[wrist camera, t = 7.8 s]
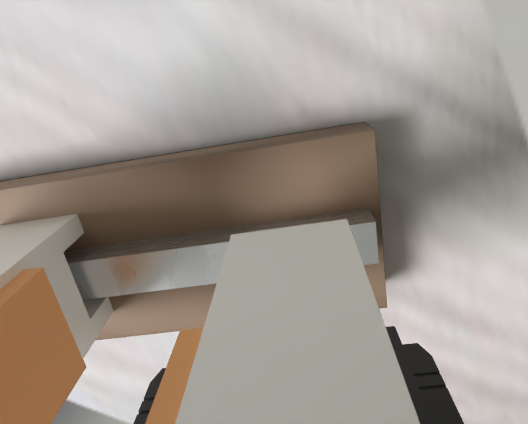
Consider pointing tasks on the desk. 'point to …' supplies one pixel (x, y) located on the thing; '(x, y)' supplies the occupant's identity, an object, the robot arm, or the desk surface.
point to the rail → (206, 205)
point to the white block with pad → (287, 339)
